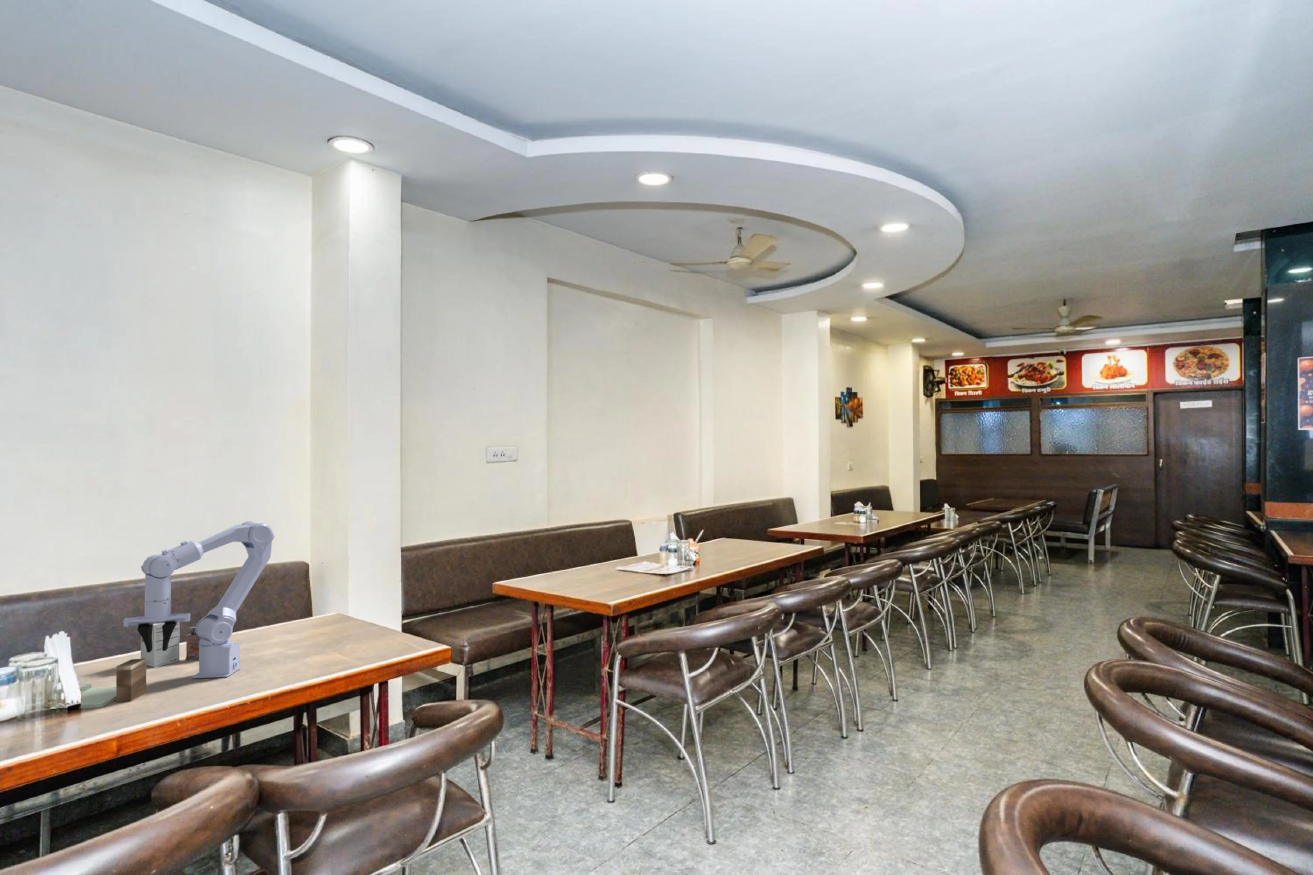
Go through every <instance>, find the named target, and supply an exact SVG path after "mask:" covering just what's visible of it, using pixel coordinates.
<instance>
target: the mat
mask: <svg viewBox="0 0 1313 875" xmlns="http://www.w3.org/2000/svg"><path fill="white" fill-rule="evenodd" d="M79 688H80V691H81V708H80V709H89V708H90V709H93V708H94V709H95V708H103V707H104V706H107V705H108V704H109V705H110V703H112V702H114V701H116V686H105V687H92V683H88V684H85V685H83V686H81V687H79Z"/></svg>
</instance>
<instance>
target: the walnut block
mask: <svg viewBox="0 0 1313 875" xmlns="http://www.w3.org/2000/svg"><path fill="white" fill-rule="evenodd" d="M115 671H116V674H115V675H116V676H115V677H116V678H115V681H116V684H115V685H116V686H115V687H116V700H115V702H116V703H122V702H123V703H124V702H125V703H126V702H128V703H129V702H133V701H134V700H136V699H138V698H140V697H142V696H144V695H145V694H147V665H146V659H141V658H132V659H131V658H130V659H129V660H128V661H125V662H122V663H121V664H119V665H116V666H115Z"/></svg>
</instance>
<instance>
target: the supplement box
mask: <svg viewBox="0 0 1313 875" xmlns="http://www.w3.org/2000/svg"><path fill="white" fill-rule="evenodd" d="M164 621H165V620H164ZM164 624H165V623H159V624H153V629H152V651H151V652H148V653H147V650H146V646H145V643H144V641H143V639H142V637H141V636H140V659H146V667H147V666H148V667H151V668H158V667H163V666H166V665H170V664H174V663H176V662H180V622H177V624H176V626H175V628H174V630H173V632H172V634H171V637H170V640H169V643H168V649H167V650H166V651H163V650H162V646H163V631H162V626H163V625H164Z"/></svg>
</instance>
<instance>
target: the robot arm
mask: <svg viewBox="0 0 1313 875" xmlns="http://www.w3.org/2000/svg"><path fill="white" fill-rule="evenodd" d="M274 538H275V534H274V532H273V529H272V527H271V526H270V525H269V524H266V523H264V522H252V521H245V522H242V523H241V524H235V525H233V526H232V527H229V528H227V529H225V530H223V531H221V532H218V533H216V534H214V535H211V536H210V537H208V538H206V539H203V540H201V541H199V542H195V541H191V540H189V541H184V540H183V541H182V542H180V545H178V546H175V547H174V548H171V549H168V550H167V549H163V550H162V551H161V554H153V555H152V554H151V555H150V556H148V557H146V559H145V560H144V561H143V563H142V565H140V568H141V571H142V574H144V575H145V576H144V577H145V579H144V580H145V581H144V582H145V583H144V615H143V616H142V615H141V616H133V617H125V618H124V619H123V628H128V627H133V626H134V627H135V626H137V628H136V631H137V632H138V633H139V635H140V638H141V637H142V639H143V641H144V643H145V646H146V650H147V653H148V652H151V651H152V629H153V624H159V623H165V624H164V625H163V626H162V631H163V646H162V650H163V651H166V650H167V649H168V643H169V640H170V637H171V634H172V632H173V630H174V628H175V626H176V624H177V622H179V623H181V622H184V623H188V622H190V621H191V612H187V613H186V612H185V613H171V610H172V609H171V608H172V577H171V576H172V575H173V573H174V572H175V571H176V570H179V569H181V568H183V567H185V566H187V565H190V564H192V563H194V562H197V561H199V560H200V561H201V558H203V555H204V554H205V553H208V552H210V551H212V550H216V549H218V548H220V547H223V546H226V545H228V544H230V543H234V542H235V543H241V544H242V545H243V546H244V548H245V550H246V553H247V555H248V557H247V558H246V559H245V561H244V563H243V565H242V566H241V567H240V569H239V570H238V572H237V574H235V575H236V576H235V577H234V579H233V580H232V581H231V583H230V585H229V586H228V588H227V589H226V591H225V593H224V594H223V596H222V597H221V598H220V600H219V602H218V604H217V605H216V606H214V607H213V608H212V609H210V610H209V611H208V613H207V614H206V615H205V616H204V617H203V618H201V619H200V620H199V621H197V623H196V625H195V627H196V629H195V631H196V634H197V636H198V637H200V641H199V660H198V672H197V673H196V674H193V675H192V676H191V678H192V679H209V678H211V679H212V678H227V677H229V676H231V675H233V674H234V673H235V672H238V671H239V670H240V669H241V668H242V667H241V665H240V664H241V663H240V661H241V660H240V658H241V657H240V649H241V648H240V644H239V643H238V642H237V641H231V640H230V637H231V636H232V634H233V628H234V625H235V624H236V622H237V612H238V610H239V609H240V607H241V605H242V604H243V602H244V601H245V599H246V597H247V596H248V594H249V593H250V591H251V590H252V587H253V586H254V585H255V583H256V581H257V580H258V579H259V577H260V575H261V573H262V572H263V570H264V569H265V567H266V565H267V564H268V562H269V561H270V558H271V555H272V545H273V544H272V543H273V541H274ZM164 620H165V621H164ZM195 631H194V632H195Z"/></svg>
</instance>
